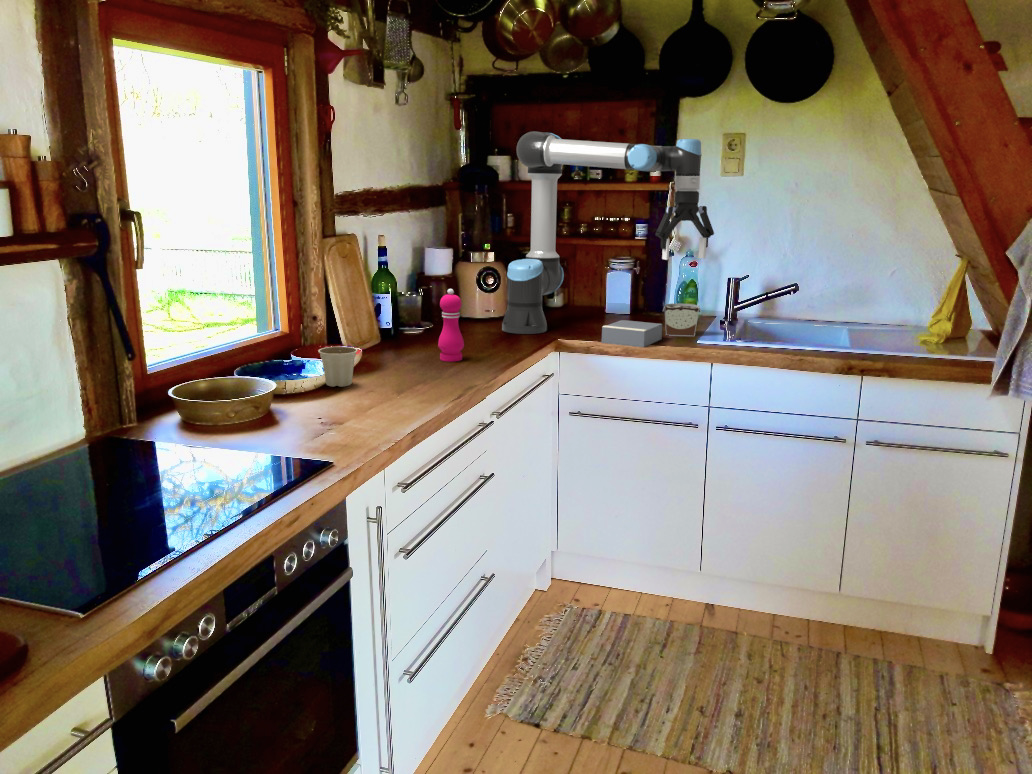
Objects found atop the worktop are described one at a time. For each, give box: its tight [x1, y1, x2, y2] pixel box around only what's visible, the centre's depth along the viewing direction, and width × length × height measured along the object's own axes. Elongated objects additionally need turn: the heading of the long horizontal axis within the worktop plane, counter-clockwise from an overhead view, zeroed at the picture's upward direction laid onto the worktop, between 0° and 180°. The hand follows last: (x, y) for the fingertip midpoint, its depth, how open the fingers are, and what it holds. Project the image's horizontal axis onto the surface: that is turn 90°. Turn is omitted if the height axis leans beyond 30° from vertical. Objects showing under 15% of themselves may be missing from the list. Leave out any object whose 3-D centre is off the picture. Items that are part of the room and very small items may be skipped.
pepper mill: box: [437, 288, 465, 363], centre depth 232 cm, size 7×7×20 cm
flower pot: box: [317, 346, 358, 388], centre depth 204 cm, size 9×9×9 cm
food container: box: [662, 302, 702, 337], centre depth 276 cm, size 12×6×10 cm, turn 84°
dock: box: [601, 319, 663, 348], centre depth 264 cm, size 14×16×5 cm
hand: (683, 258), depth 265 cm, fingers open, 13 cm apart
